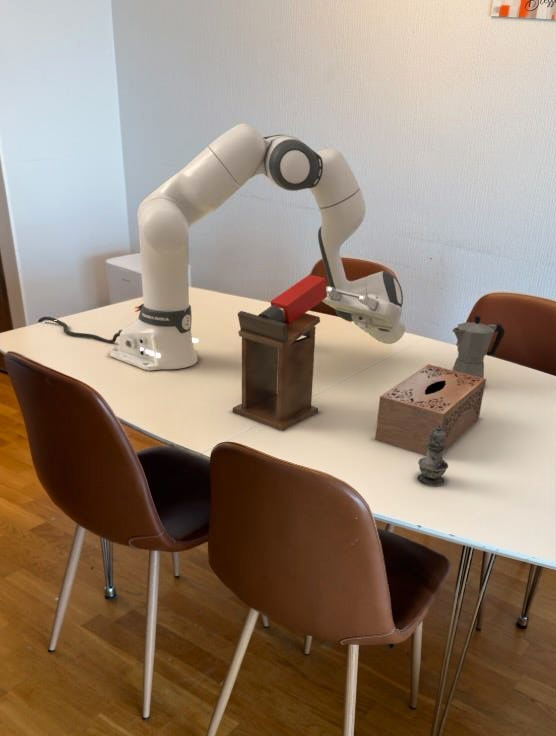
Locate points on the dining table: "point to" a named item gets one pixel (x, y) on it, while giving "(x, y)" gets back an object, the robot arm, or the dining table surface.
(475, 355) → the coffeepot
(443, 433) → the dark stone figurine
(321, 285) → the tall red pillar
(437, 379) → the tissue box cover
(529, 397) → the dining table surface
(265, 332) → the wooden lectern stand
